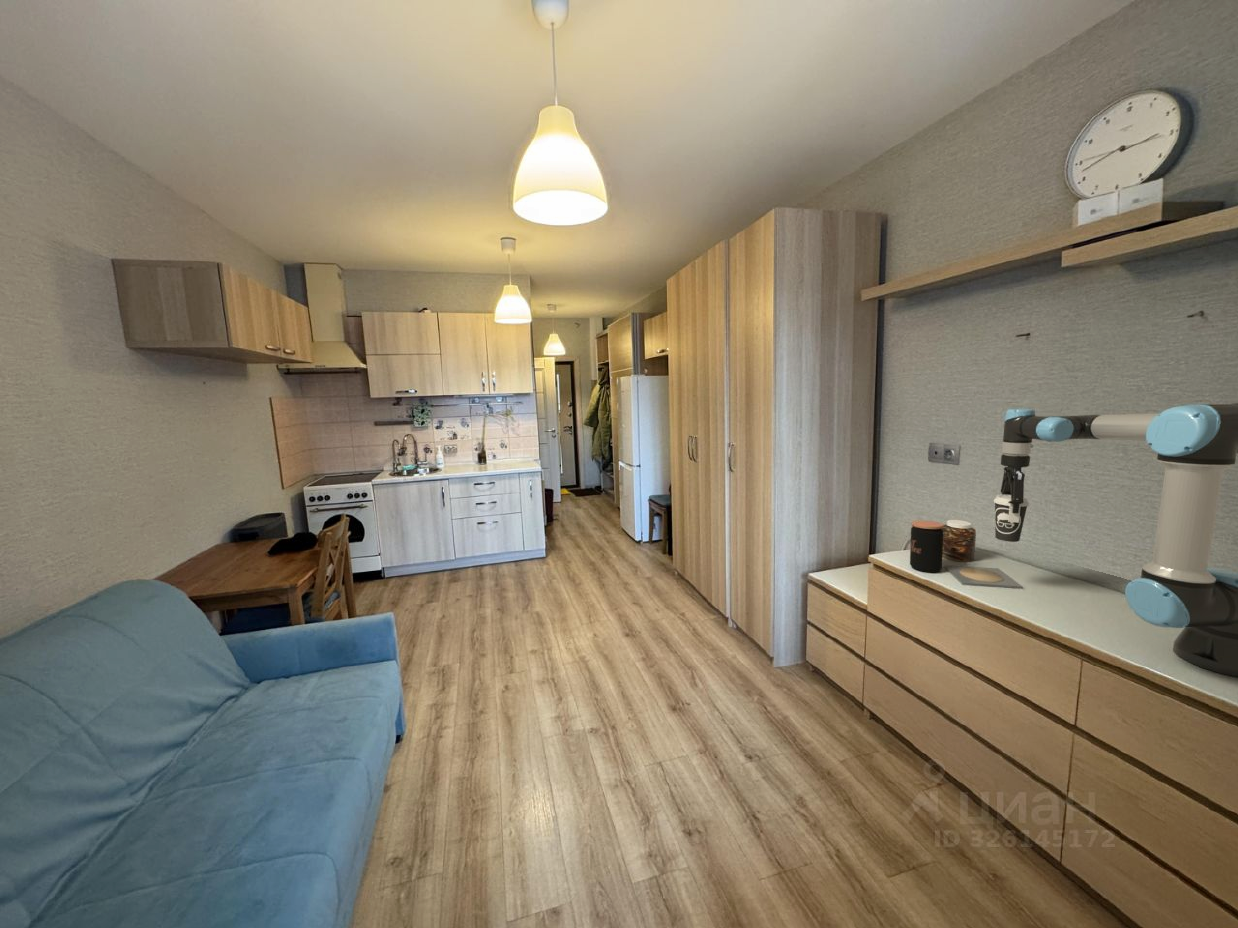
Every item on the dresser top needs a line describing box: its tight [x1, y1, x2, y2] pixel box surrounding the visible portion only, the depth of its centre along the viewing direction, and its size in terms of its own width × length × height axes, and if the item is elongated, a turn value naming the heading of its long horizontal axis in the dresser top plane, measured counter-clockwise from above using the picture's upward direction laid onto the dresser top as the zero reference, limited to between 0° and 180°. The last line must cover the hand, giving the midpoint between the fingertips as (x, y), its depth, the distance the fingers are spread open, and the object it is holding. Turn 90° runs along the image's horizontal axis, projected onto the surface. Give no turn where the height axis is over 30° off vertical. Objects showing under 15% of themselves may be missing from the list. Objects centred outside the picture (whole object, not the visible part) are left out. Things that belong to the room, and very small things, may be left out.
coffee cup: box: [993, 494, 1030, 543], centre depth 163 cm, size 10×10×15 cm
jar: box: [942, 519, 977, 563], centre depth 194 cm, size 12×12×15 cm
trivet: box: [943, 564, 1024, 590], centre depth 174 cm, size 18×18×1 cm
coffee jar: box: [909, 520, 945, 573], centre depth 183 cm, size 11×11×18 cm
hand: (1009, 517), depth 163 cm, fingers closed on coffee cup, 9 cm apart
